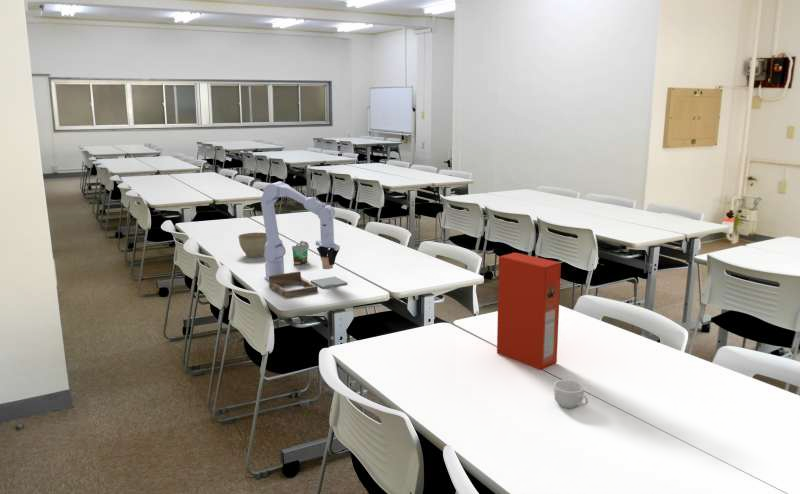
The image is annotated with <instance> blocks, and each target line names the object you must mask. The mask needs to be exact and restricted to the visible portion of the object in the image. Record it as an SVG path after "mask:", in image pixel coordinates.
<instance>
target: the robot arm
mask: <svg viewBox="0 0 800 494" xmlns="http://www.w3.org/2000/svg"><path fill="white" fill-rule="evenodd" d="M262 191H263V193H262V197H261V199H260V206H261V211H262V217H263V218H262V219H263V223H264V231H265V233H266V237H267V242H266V244H265V252H264V256H263V257H264V258H265V259H266V261H265V264H264V265H265V276H263V278H264V279H265V280H267V281H268V282H269V276H272V275H279V274H285V263H284V256H285V255H286V252H287V251H286V250H287V249H286V247H285V246H284V244H283V240H282V239H280V234H279V228H278V222H277V215H276V209H275V203H276V202H277V201H278V199H279V198H282V197H283V198H284V197H287V198H290V199H291V200H294V201H295V202H298V203H300V204H302V205H303V207H304V209H306V210H307V211H309V212H311V213H312V214H315V215H316V216H317V218H318V219H319V224H320V225H319V227H320V240H316V241H315V246H317V247H316V251H317V252H318V254H319V256H320V260H321V261H322V256H326V255H328V258H329V265H333V266H334V265H335V262H336V258H337V255H338V253H339V252H340V249H341V246H340V245H339V244H337V243H336V242H335V235H334V234H335V233H334V231H335V230H334V216H335V213H336V210H335V208H334V206H332V205H331V204H326V203H325V202H321V201H319V200H318V199H317V197H315V196H313V197H312V196H310V197H307V196H306V195H304V194H302V193H301V192H299V191H298V190H296V189H294V188H293V187H292V186H290V185H289V184H287V183H284V181H280V180H279V181H277V182H274V183H269V184H266V186H265V187H264V188H263V189H262Z"/></svg>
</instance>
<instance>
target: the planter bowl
mask: <svg viewBox="0 0 800 494" xmlns="http://www.w3.org/2000/svg"><path fill="white" fill-rule="evenodd" d="M238 240H239V241H238V242H239V245H240V249H241V250H242V251H243V253H244V254H245V256H246V257H247V258H261V257H265V256H264V252H265V244H266V242H267V237H266V232H248V233H241V234H239V235H238Z"/></svg>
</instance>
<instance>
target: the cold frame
mask: <svg viewBox="0 0 800 494" xmlns="http://www.w3.org/2000/svg"><path fill="white" fill-rule="evenodd" d="M301 273H302V272H301V270H298V271H292V272H286V273H285V272H284V274H279V275H272V276H269V281H268V285H269V286H268V287H269V288H270V289H271V290H273V291H274V292H275V293H277V294H279V295H281V296H283V297H284V298H285V299H287V298H292V297H298V296H304V295H308V294H315V293H319V289H318V287H319V286H317V285H315V284H313V283H311V281H309V280H307V279H305V278H303V277H302V274H301ZM294 284H300V286H301V285H302V286H303V287H301V288H296V289H295V288H294V289H290V290H287V289H285V288H283V287H284V286H288V285H294Z"/></svg>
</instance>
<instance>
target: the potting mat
mask: <svg viewBox="0 0 800 494" xmlns="http://www.w3.org/2000/svg"><path fill="white" fill-rule="evenodd" d="M310 282H311V283H312V284H314V285H316V286H318V287H319V288H320V289H322V290H323V289H328V288H334V287H340V286H344V285H345V286H346V285H348V282H347V281H345V280H343V279H341V278H339V277H337V276H334V275H333V276H329V277H324V278H317V279H312V280H310Z"/></svg>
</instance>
